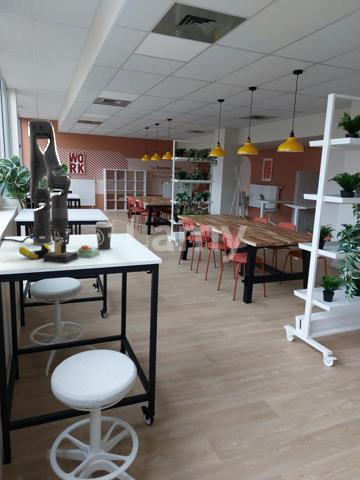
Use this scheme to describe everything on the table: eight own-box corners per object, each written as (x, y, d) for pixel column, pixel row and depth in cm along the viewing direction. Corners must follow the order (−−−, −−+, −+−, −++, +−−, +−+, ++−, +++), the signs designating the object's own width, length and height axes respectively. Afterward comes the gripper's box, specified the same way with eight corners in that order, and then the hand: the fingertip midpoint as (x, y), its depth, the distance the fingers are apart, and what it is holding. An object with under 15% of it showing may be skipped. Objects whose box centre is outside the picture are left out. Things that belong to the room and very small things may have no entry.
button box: (71, 256, 173) (70, 249, 172) (80, 252, 182) (79, 246, 181) (90, 258, 171) (90, 251, 170) (98, 254, 179) (98, 247, 179)
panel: (43, 261, 162) (43, 254, 161) (55, 256, 171) (55, 250, 171) (66, 263, 159) (65, 256, 158) (77, 258, 169) (77, 252, 168)
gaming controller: (17, 257, 167) (27, 261, 161) (17, 246, 166) (27, 249, 160) (46, 252, 179) (56, 256, 173) (45, 242, 178) (56, 245, 172)
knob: (58, 255, 161) (57, 243, 160) (52, 253, 164) (52, 242, 163) (68, 254, 165) (67, 242, 164) (62, 252, 168) (62, 240, 167)
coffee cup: (108, 250, 188) (108, 224, 185) (92, 249, 189) (92, 223, 187) (115, 247, 197) (115, 221, 194) (99, 246, 199) (99, 221, 196)
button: (80, 249, 174) (80, 246, 174) (83, 248, 178) (83, 245, 177) (86, 250, 174) (86, 246, 173) (89, 248, 177) (89, 245, 177)
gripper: (45, 215, 163) (46, 250, 166) (59, 218, 154) (60, 255, 157) (59, 214, 169) (60, 248, 172) (74, 217, 159) (75, 253, 162)
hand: (60, 251), depth 164 cm, fingers closed on knob, 5 cm apart
